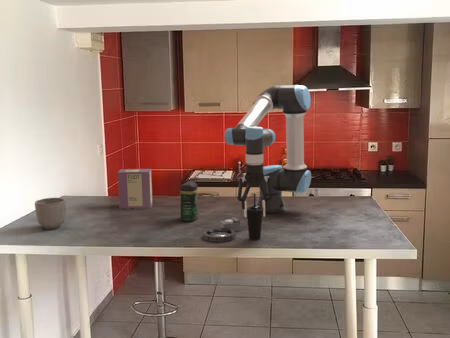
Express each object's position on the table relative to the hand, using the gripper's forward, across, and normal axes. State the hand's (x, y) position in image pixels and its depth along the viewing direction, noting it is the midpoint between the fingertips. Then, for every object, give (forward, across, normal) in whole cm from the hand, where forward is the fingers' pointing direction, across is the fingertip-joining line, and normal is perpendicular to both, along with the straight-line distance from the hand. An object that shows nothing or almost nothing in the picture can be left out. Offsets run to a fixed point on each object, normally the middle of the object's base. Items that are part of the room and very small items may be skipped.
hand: (254, 215), depth 226 cm
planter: (+10, +92, -30) cm, 97 cm away
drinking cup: (+10, 0, 0) cm, 10 cm away
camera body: (+10, +9, -15) cm, 20 cm away
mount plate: (+10, +15, -4) cm, 19 cm away
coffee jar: (+10, +27, -35) cm, 45 cm away
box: (+10, +55, -65) cm, 86 cm away
